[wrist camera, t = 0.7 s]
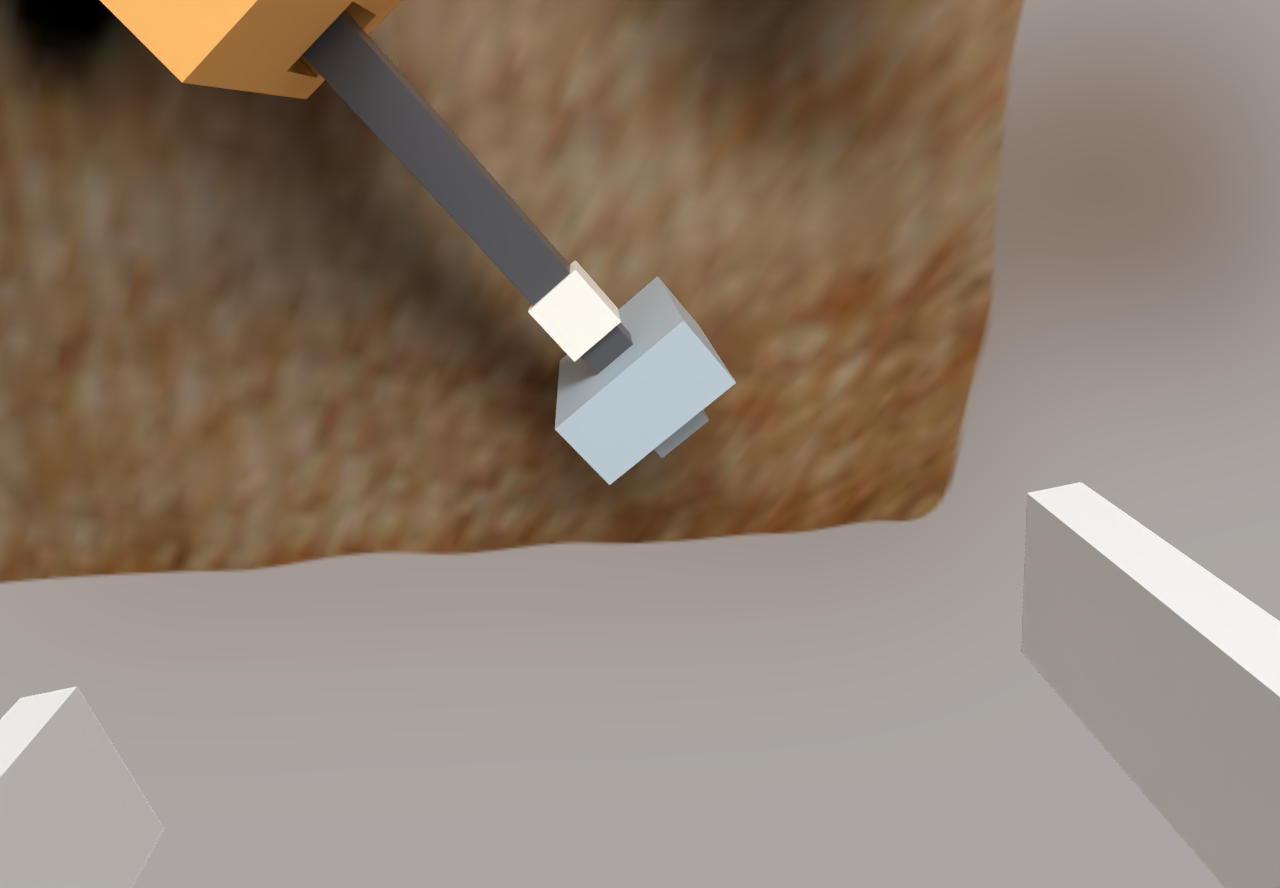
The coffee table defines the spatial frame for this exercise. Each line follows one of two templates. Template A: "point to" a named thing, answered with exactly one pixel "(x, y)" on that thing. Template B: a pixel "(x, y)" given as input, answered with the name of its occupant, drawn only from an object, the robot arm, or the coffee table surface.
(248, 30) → the orange sliding sleeve
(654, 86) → the coffee table surface
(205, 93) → the coffee table surface
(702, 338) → the rail rig
